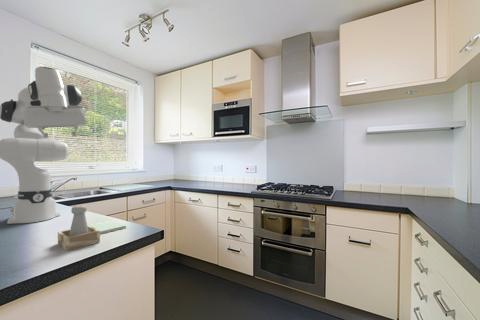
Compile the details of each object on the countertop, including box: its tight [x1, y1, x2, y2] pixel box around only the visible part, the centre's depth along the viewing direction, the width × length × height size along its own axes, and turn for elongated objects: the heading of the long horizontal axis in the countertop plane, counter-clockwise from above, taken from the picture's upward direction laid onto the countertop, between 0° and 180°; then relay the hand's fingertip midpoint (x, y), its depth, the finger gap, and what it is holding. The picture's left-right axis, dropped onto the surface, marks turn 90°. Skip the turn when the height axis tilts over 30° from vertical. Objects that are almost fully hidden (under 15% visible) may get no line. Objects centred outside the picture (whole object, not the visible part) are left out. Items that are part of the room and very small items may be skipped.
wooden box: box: [57, 226, 101, 252], centre depth 76 cm, size 10×10×4 cm
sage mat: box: [87, 219, 127, 235], centre depth 92 cm, size 14×12×1 cm
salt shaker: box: [69, 205, 89, 237], centre depth 76 cm, size 6×6×13 cm
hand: (60, 137), depth 92 cm, fingers open, 8 cm apart
